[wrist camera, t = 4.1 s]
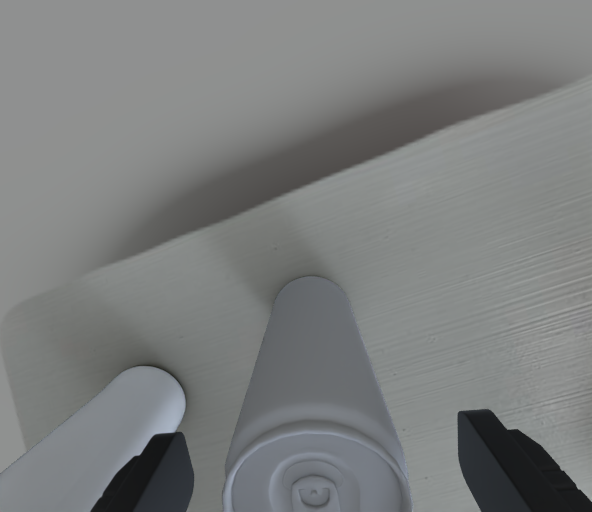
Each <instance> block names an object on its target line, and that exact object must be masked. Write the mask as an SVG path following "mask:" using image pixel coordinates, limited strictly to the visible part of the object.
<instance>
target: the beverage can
mask: <svg viewBox="0 0 592 512" xmlns="http://www.w3.org/2000/svg"><path fill="white" fill-rule="evenodd" d="M225 473H226V481H225V484H224V488H223V491H222V505H223V512H412V510H413V501H412V496H411V492H410V487H409V483H408V470H407V466H406V461H405V456H404V452H403V449H402V446H401V443H400V441H399V438H398V435H397V432H396V429H395V427H394V424H393V421H392V418H391V416H390V413H389V410H388V407H387V405H386V402H385V399H384V396H383V393H382V391H381V388H380V385H379V382H378V380H377V377H376V374H375V371H374V369H373V366H372V363H371V360H370V358H369V355H368V352H367V349H366V346H365V344H364V341H363V338H362V335H361V333H360V330H359V327H358V324H357V322H356V319H355V316H354V313H353V311H352V308H351V305H350V302H349V300H348V298H347V296H346V294H345V293H344V291H343V290H342V289H341V288H340V287H339V286H338V285H337V284H335V283H333V282H332V281H330V280H328V279H325V278H321V277H317V276H306V277H302V278H298V279H296V280H294V281H292V282H290V283H288V284H287V285H286V286H285V287H284V288H283V289H282V290H281V291H280V292H279V294H278V295H277V297H276V299H275V302H274V305H273V309H272V312H271V315H270V318H269V322H268V325H267V328H266V331H265V334H264V338H263V341H262V344H261V347H260V351H259V354H258V357H257V360H256V364H255V367H254V370H253V373H252V377H251V380H250V383H249V386H248V390H247V393H246V396H245V399H244V402H243V406H242V409H241V412H240V415H239V419H238V422H237V425H236V428H235V432H234V435H233V438H232V441H231V445H230V449H229V452H228V456H227V459H226V464H225Z"/></svg>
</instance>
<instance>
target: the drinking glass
mask: <svg viewBox="0 0 592 512" xmlns="http://www.w3.org/2000/svg"><path fill="white" fill-rule="evenodd" d="M185 408H186V399H185V395H184V392H183V389H182V387H181V386H180V384H179V383H178V381H177V380H176V379H175V378H174V377H173V376H172V375H170V374H169V373H167V372H166V371H164V370H162V369H159V368H156V367H152V366H137V367H133V368H130V369H127V370H125V371H123V372H122V373H120V374H119V375H117V376H116V377H115V378H114V379H113V380H112V381H111V382H110V383H109V384H108V385H107V386H106V387H105V388H104V389H103V390H102V391H100V392H99V393H98V394H97V395H96V396H95V397H93V398H92V399H91V400H90V401H88V402H87V403H86V404H85V405H84V406H82V407H81V408H80V409H79V410H78V411H76V412H75V413H74V414H73V415H71V416H70V417H69V418H68V419H67V420H65V421H64V422H63V423H62V424H60V425H59V426H58V427H57V428H56V429H54V430H53V431H52V432H51V433H49V434H48V435H47V436H46V437H45V438H43V439H42V440H41V441H40V442H38V443H37V444H36V445H35V446H33V447H32V448H31V449H30V450H29V451H27V452H26V453H25V454H24V455H22V456H21V457H20V458H19V459H17V460H16V461H15V462H14V463H12V464H11V465H10V466H9V467H8V468H6V469H5V470H4V471H3V472H2V473H0V512H91V509H92V508H93V506H94V505H95V503H96V502H97V501H98V499H99V498H100V497H102V495H103V492H104V490H105V489H106V487H107V486H108V485H109V483H110V482H111V480H112V479H113V477H114V476H115V474H116V473H117V472H118V471H119V470H120V469H121V468H122V467H123V466H124V465H125V464H126V463H127V462H129V461H130V460H131V459H132V458H133V457H134V456H138V455H140V454H141V453H142V451H143V450H144V448H145V447H146V445H147V444H148V442H149V440H150V439H151V438H152V436H153V435H155V434H160V433H173V432H176V430H177V428H178V426H179V424H180V423H181V421H182V419H183V416H184V413H185Z"/></svg>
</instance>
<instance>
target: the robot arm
mask: <svg viewBox="0 0 592 512" xmlns="http://www.w3.org/2000/svg"><path fill="white" fill-rule="evenodd" d="M458 457H459V463H460V467H461V470H462V473H463V476H464V479H465V481H466V483H467V485H468V487H469V489H470V491H471V493H472V495H473V497H474V498H475V500H476V502H477V504H478V506H479V508H480V510H481V512H592V502H591V501H590V500H589V499H588V498H587V496H586V495H585V494H584V493H583V492H582V491H581V490H578V489H577V487H576V484H575V483H574V482H573V481H572V480H571V479H570V477H569V476H568V475H567V474H566V473H565V472H564V471H561V469H560V466H559V465H558V464H557V463H556V462H555V461H554V460H553V459H552V457H551V456H550V455H549V454H548V453H547V452H546V451H545V450H544V448H543V447H542V446H541V445H539V444H538V443H536V442H535V441H534V440H532V439H531V438H529V437H528V436H526V435H525V434H523V433H522V432H521V431H519V430H518V429H514V430H507V429H506V428H505V427H504V425H503V424H502V423H501V422H500V421H499V419H498V418H497V417H496V416H495V414H494V413H493V412H492V411H491V410H489V409H482V410H469V411H459V413H458ZM193 487H194V472H193V468H192V464H191V460H190V456H189V452H188V448H187V445H186V441H185V437H184V435H183V433H182V432H173V433H160V434H155V435H153V436H152V438H151V439H150V440H149V442H148V444H147V445H146V447H145V448H144V450H143V451H142V453H141V454H140V455H138V456H134V457H133V458H132V459H131V460H130V461H129V462H127V463H126V464H125V465H124V466H123V467H122V468H121V469H120V470H119V471H118V472H117V473H116V474H115V476H114V477H113V479H112V480H111V482H110V483H109V485H108V486H107V487H106V489H105V490H104V492H103V495H102V497H100V498H99V499H98V501H97V502H96V503H95V505H94V506H93V508H92V509H91V512H186V510H187V507H188V505H189V502H190V499H191V496H192V493H193Z"/></svg>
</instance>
